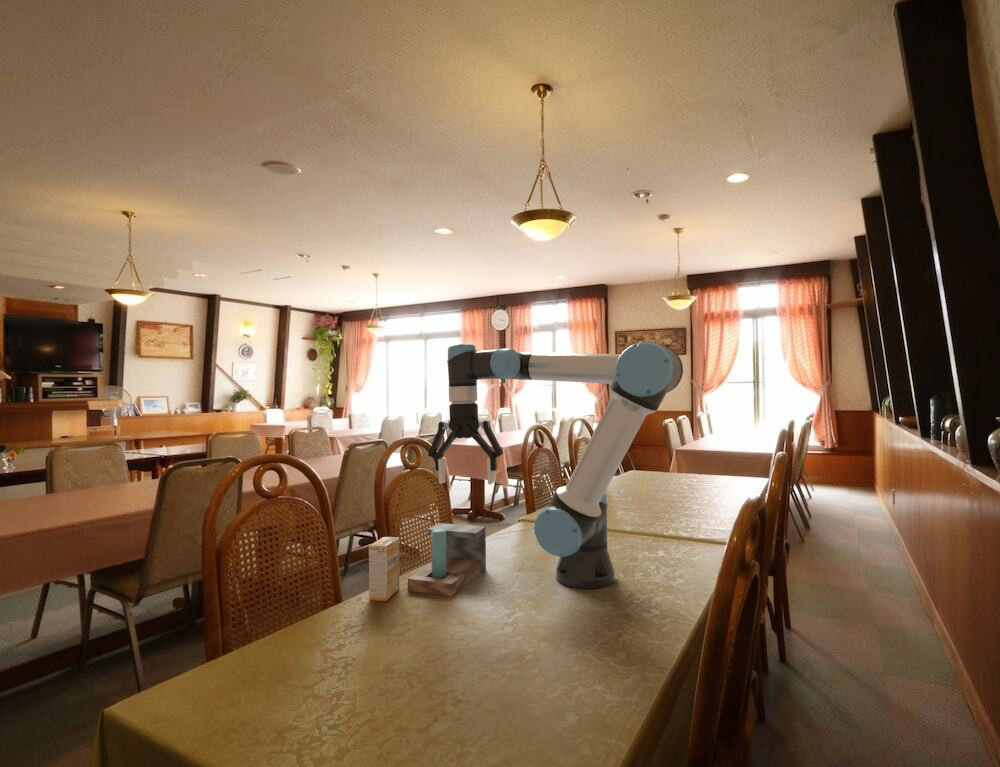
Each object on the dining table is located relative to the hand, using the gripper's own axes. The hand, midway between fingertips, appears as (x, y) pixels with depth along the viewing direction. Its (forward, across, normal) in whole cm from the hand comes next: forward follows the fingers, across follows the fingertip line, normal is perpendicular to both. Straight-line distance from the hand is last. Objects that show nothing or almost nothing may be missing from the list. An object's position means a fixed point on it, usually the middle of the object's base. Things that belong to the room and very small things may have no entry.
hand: (466, 483), depth 144 cm
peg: (+25, +6, +7) cm, 26 cm away
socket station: (+25, +5, +3) cm, 26 cm away
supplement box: (+25, +16, +16) cm, 34 cm away
